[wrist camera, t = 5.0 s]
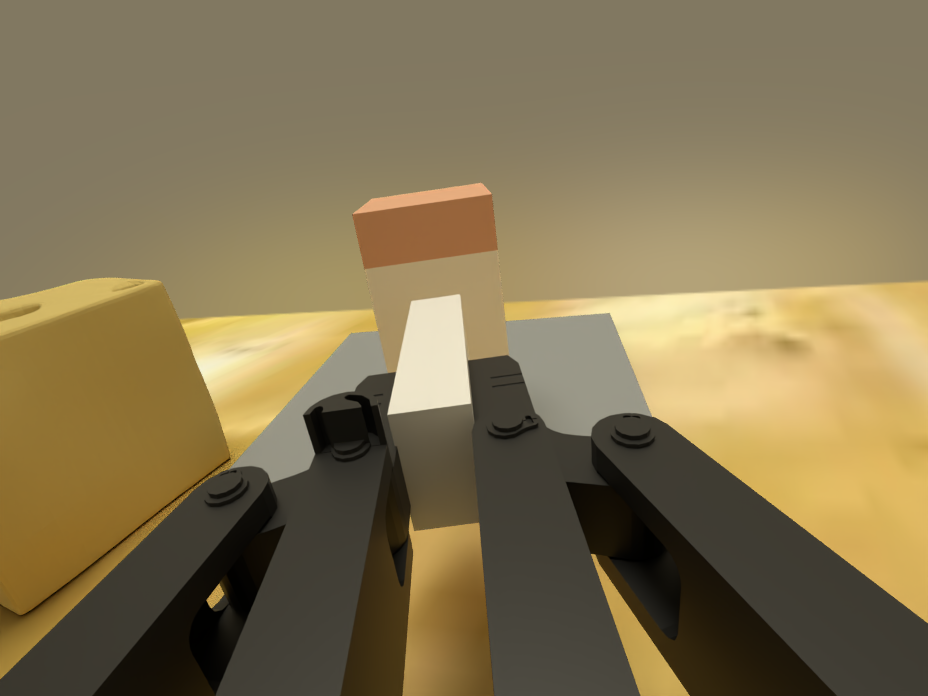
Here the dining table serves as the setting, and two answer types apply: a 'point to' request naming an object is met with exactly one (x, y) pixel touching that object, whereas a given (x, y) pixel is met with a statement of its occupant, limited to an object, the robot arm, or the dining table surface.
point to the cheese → (93, 426)
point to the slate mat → (529, 343)
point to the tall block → (434, 263)
